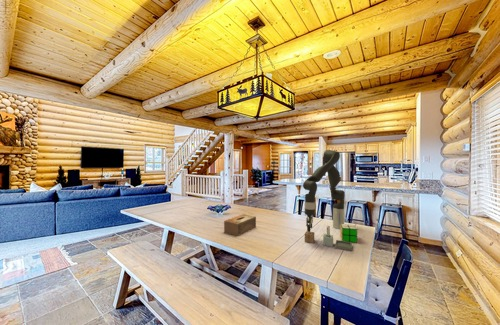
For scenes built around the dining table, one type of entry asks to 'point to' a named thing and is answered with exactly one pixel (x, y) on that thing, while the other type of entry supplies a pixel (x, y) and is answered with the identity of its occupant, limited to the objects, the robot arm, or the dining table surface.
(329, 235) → the cylinder
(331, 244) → the slate block
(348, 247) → the tray
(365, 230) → the dining table surface
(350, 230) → the puzzle cube
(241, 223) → the tissue box cover
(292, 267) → the dining table surface
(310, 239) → the brown cardboard cube
